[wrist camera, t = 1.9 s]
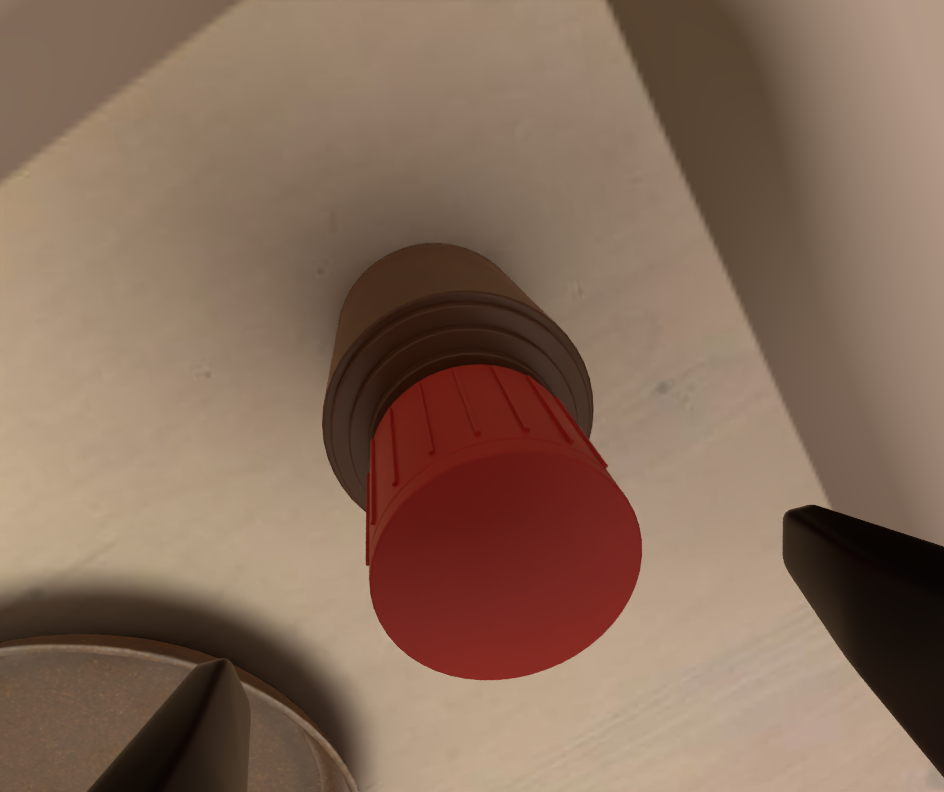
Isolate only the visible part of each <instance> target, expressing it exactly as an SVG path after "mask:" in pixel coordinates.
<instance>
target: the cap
mask: <svg viewBox="0 0 944 792" xmlns="http://www.w3.org/2000/svg"><path fill="white" fill-rule="evenodd" d="M607 467H608V465H607V464H606V463H605V461H604V460H603V458H602V457H601V456H600V454H599V453H598V452H597V450H596V449H595V448H594V446H593V445H592V443H591V442H590V441H589V439H588V438H587V437H586V435H585V434H584V433H583V431H582V430H581V428H580V427H579V426H578V424H577V423H576V422H575V420H574V419H573V418H572V416H571V415H570V413H569V412H568V411H567V409H566V408H565V407H564V405H563V404H562V403H561V401H560V400H559V398H558V397H557V396H555V397H553V395H552V394H551V393H550V392H548V391H547V390H546V389H545V388H544V387H543V386H542V385H541V384H539V383H538V382H536V381H535V380H534V379H532V378H531V376H529V375H527V376H526V375H524V374H522V373H520V372H517V371H515V370H512V369H509V368H505V367H500V366H495V365H484V364H477V365H464V366H458V367H453V368H449V369H446V370H442V371H439V372H437V373H435V374H432V375H430V376H428V377H426V378H424V379H422V380H421V381H419V382H417V383H416V384H414V385H413V386H411V387H410V388H409V389H408V390H406V391H405V392H404V393H403V394H402V395H401V396H400V397H399V398H398V399H397V400H396V401H395V402H394V403H393V404H392V405H391V407H389V408H388V410H387V412H386V413H385V415H384V417H383V418H382V420H381V422H380V424H379V425H378V428H377V430H376V433H375V435H374V439H371V442H370V473H367V501H366V566H367V565H369V581H370V594H371V599H372V603H373V607H374V610H375V612H376V615H377V617H378V619H379V622H380V623H381V625H382V627H383V628H384V630H385V631H386V633H387V634H388V636H389V637H390V638H391V639H392V640H393V642H394V643H395V644H396V645H397V646H398V647H399V648H400V649H401V650H402V651H404V652H405V653H406V654H407V655H408V656H410V657H411V658H413V659H414V660H416V661H417V662H419V663H421V664H422V665H424V666H427V667H429V668H431V669H433V670H435V671H438V672H441V673H444V674H447V675H450V676H455V677H460V678H465V679H475V680H502V679H511V678H517V677H522V676H526V675H531V674H534V673H537V672H540V671H543V670H546V669H549V668H551V667H554V666H556V665H558V664H561V663H563V662H564V661H566V660H568V659H570V658H572V657H573V656H575V655H577V654H578V653H580V652H581V651H583V650H584V649H586V648H587V647H589V646H590V645H591V644H592V643H593V642H595V641H596V640H597V639H598V638H599V637H601V636H602V635H603V634H604V633H605V632H606V630H607V629H608V628H609V627H610V626H611V625H612V624H613V623H614V622H615V620H616V619H617V618H618V616H619V615H620V614H621V612H622V611H623V609H624V608H625V606H626V604H627V602H628V601H629V599H630V597H631V595H632V592H633V590H634V588H635V585H636V582H637V579H638V575H639V572H640V566H641V558H642V539H641V534H640V528H639V524H638V521H637V518H636V515H635V512H634V510H633V508H632V507H631V505H630V503H629V501H628V499H627V498H626V496H625V495H624V493H623V492H622V491H621V489H620V488H619V486H618V485H617V484H616V482H615V481H614V480H613V478H612V477H611V475H610V474H609V473H608V471H607V470H606V468H607Z"/></svg>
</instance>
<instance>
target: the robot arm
mask: <svg viewBox="0 0 944 792" xmlns="http://www.w3.org/2000/svg"><path fill="white" fill-rule="evenodd" d="M783 560H784V563H785V566H786V568H787V570H788V572H789V574H790V575H791V577H792V578H793V580H794V581H795V583H796V584H797V586H798V587H799V589H800V590H801V592H802V593H803V595H804V596H805V598H806V599H807V601H808V602H809V604H810V605H811V607H812V608H813V610H814V611H815V613H816V614H817V616H818V617H819V619H820V620H821V621H822V623H823V624H824V626H825V627H826V629H827V630H828V632H829V633H830V635H831V636H832V638H833V639H834V641H835V642H836V644H837V645H838V647H839V648H840V650H841V651H842V652H843V654H844V655H845V657H846V658H847V660H848V661H849V662H850V663H851V665H852V666H853V667H854V669H855V670H856V671H857V672H858V674H859V675H860V676H861V677H862V679H863V680H864V681H865V682H866V683H867V685H868V686H869V687H870V688H871V690H872V691H873V692H874V693H875V694H876V696H877V697H878V698H879V699H880V700H881V702H882V703H883V704H884V705H885V707H886V708H887V709H888V710H889V711H890V713H891V714H892V715H893V716H894V717H895V719H896V720H897V721H898V722H899V724H900V725H901V726H902V727H903V728H904V730H905V731H906V732H907V733H908V735H909V736H910V737H911V738H912V739H913V741H914V742H915V743H916V744H917V745H918V747H919V748H920V749H921V750H922V752H923V753H924V754H925V755H926V756H927V758H928V759H929V760H930V761H931V763H932V764H933V765H934V766H935V767H936V769H937V770H938V771H939V772H940V773H941V775H942V776H943V777H944V547H943V546H940V545H937V544H934V543H931V542H928V541H925V540H921V539H919V538H915V537H912V536H909V535H906V534H903V533H900V532H897V531H894V530H890V529H888V528H885V527H882V526H879V525H875V524H872V523H869V522H866V521H863V520H860V519H857V518H854V517H851V516H848V515H845V514H841V513H838V512H835V511H832V510H829V509H826V508H823V507H820V506H816V505H806V506H803V507H799V508H795V509H791V510H789V511H787V512H786V513H785V515H784V517H783ZM250 724H251V709H250V703H249V699H248V697H247V695H246V692H245V690H244V688H243V686H242V684H241V682H240V679H239V677H238V675H237V673H236V671H235V669H234V666H233V665H232V663H231V662H230V661H229V660H228V659H226V658H221V659H217V660H213V661H209V662H205V663H202V664H199V665H197V666H196V667H195V668H194V669H193V670H192V671H191V672H190V673H189V674H188V675H187V677H186V678H185V679H184V680H183V681H182V682H181V683H180V685H179V686H178V687H177V688H176V689H175V690H174V692H173V693H172V694H171V695H170V696H169V697H168V698H167V700H166V701H165V702H164V703H163V704H162V705H161V706H160V708H159V709H158V710H157V711H156V712H155V713H154V715H153V716H152V717H151V718H150V719H149V720H148V721H147V723H146V724H145V725H144V726H143V727H142V728H141V730H140V731H139V732H138V733H137V734H136V735H135V736H134V738H133V739H132V740H131V741H130V742H129V743H128V745H127V746H126V747H125V748H124V749H123V750H122V751H121V753H120V754H119V755H118V756H117V757H116V758H115V759H114V761H113V762H112V763H111V764H110V765H109V766H108V768H107V769H106V770H105V771H104V772H103V773H102V774H101V776H100V777H99V778H98V779H97V780H96V781H95V783H94V784H93V785H92V786H91V787H90V788H89V789H88V791H87V792H247V786H248V766H249V745H250Z"/></svg>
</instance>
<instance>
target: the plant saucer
mask: <svg viewBox="0 0 944 792" xmlns="http://www.w3.org/2000/svg"><path fill="white" fill-rule="evenodd" d="M217 659H218V658H216V657H213V656H211V655H208V654H205V653H202V652H199V651H196V650H193V649H190V648H186V647H183V646H178V645H174V644H170V643H165V642H160V641H155V640H150V639H144V638H135V637H127V636H118V635H104V634H61V635H47V636H36V637H29V638H21V639H15V640H8V641H3V642H0V792H87V791H88V789H89V788H90V787H91V786H92V785H93V784H94V783H95V781H96V780H97V779H98V778H99V777H100V776H101V774H102V773H103V772H104V771H105V770H106V769H107V768H108V766H109V765H110V764H111V763H112V762H113V761H114V759H115V758H116V757H117V756H118V755H119V754H120V753H121V751H122V750H123V749H124V748H125V747H126V746H127V745H128V743H129V742H130V741H131V740H132V739H133V738H134V736H135V735H136V734H137V733H138V732H139V731H140V730H141V728H142V727H143V726H144V725H145V724H146V723H147V721H148V720H149V719H150V718H151V717H152V716H153V715H154V713H155V712H156V711H157V710H158V709H159V708H160V706H161V705H162V704H163V703H164V702H165V701H166V700H167V698H168V697H169V696H170V695H171V694H172V693H173V692H174V690H175V689H176V688H177V687H178V686H179V685H180V683H181V682H182V681H183V680H184V679H185V678H186V677H187V675H188V674H189V673H190V672H191V671H192V670H193V669H194V668H195V667H196V666H197V665H199V664H202V663H205V662H209V661H213V660H217ZM233 666H234V669H235V671H236V673H237V675H238V677H239V679H240V682H241V684H242V686H243V688H244V690H245V692H246V695H247V697H248V699H249V703H250V709H251V724H250V745H249V766H248V786H247V792H359V790H358V788H357V785H356V783H355V781H354V779H353V777H352V775H351V773H350V771H349V770H348V768H347V766H346V764H345V763H344V761H343V759H342V758H341V756H340V755H339V753H338V752H337V750H336V749H335V747H334V746H333V745H332V743H331V742H330V740H329V739H328V738H327V736H326V735H325V734H324V733H323V732H322V730H321V729H320V728H319V727H318V726H317V725H316V724H315V723H314V722H313V721H312V720H311V719H310V718H309V717H308V716H307V715H306V714H305V713H304V712H303V711H302V710H301V709H300V708H299V707H298V706H296V705H295V704H294V703H293V702H292V701H290V700H289V699H288V698H287V697H285V696H284V695H283V694H281V693H280V692H279V691H277V690H276V689H275V688H273V687H272V686H270V685H269V684H267V683H265V682H264V681H262V680H260V679H259V678H257V677H255V676H254V675H252V674H250V673H248V672H246V671H244V670H242V669H241V668H239V667H237V666H235V665H233Z"/></svg>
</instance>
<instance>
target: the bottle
mask: <svg viewBox="0 0 944 792" xmlns="http://www.w3.org/2000/svg"><path fill="white" fill-rule="evenodd" d="M477 364H484V365H495V366H500V367H505V368H509V369H512V370H515V371H517V372H520V373H522V374H524V375H526V376H527V375H529V376H531V378H532V379H534V380H535V381H536V382H538V383H539V384H541V385H542V386H543V387H544V388H545V389H546V390H547V391H548V392H550V393H551V394H552V395H553V397H555V396H557V397H558V398H559V400H560V401H561V403H562V404H563V405H564V407H565V408H566V409H567V411H568V412H569V413H570V415H571V416H572V418H573V419H574V420H575V422H576V423H577V424H578V426H579V427H580V428H581V430H582V431H583V433H584V434H585V435H586V437H587V438H588V439H589V438H590V433H591V429H592V421H593V393H592V388H591V383H590V378H589V375H588V372H587V369H586V367H585V364H584V362H583V360H582V358H581V356H580V354H579V352H578V350H577V348H576V347H575V346H574V344H573V343H572V341H571V340H570V339H569V337H568V336H567V335H566V334H565V333H564V332H563V331H562V329H561V328H560V327H559V326H558V325H557V324H556V323H555V322H554V321H553V320H552V319H551V318H550V317H549V316H548V315H547V314H545V313H544V312H543V311H542V310H541V309H540V308H539V307H538V306H537V305H536V304H535V303H534V302H533V301H532V300H531V299H530V298H529V297H528V296H527V295H526V294H525V293H524V292H523V291H522V290H521V289H520V288H519V287H518V286H517V285H516V284H515V283H514V282H513V281H512V280H511V279H510V278H509V277H508V276H507V275H506V274H505V273H504V272H503V271H502V270H501V269H500V268H498V267H497V266H496V265H495V264H493V263H492V262H491V261H490V260H488V259H487V258H485V257H483V256H481V255H480V254H478V253H476V252H473V251H471V250H468V249H466V248H462V247H459V246H455V245H448V244H440V243H437V244H421V245H414V246H410V247H407V248H403V249H400V250H398V251H396V252H393V253H391V254H389V255H387V256H386V257H384V258H382V259H381V260H379V261H377V262H376V263H375V264H374V265H372V266H371V267H370V268H369V269H367V270H366V272H365V273H364V274H363V275H362V276H361V277H360V278H359V279H358V280H357V282H356V283H355V285H354V286H353V287H352V289H351V290H350V292H349V294H348V296H347V298H346V300H345V302H344V305H343V308H342V311H341V313H340V318H339V323H338V328H337V334H336V339H335V345H334V350H333V356H332V361H331V367H330V372H329V378H328V383H327V389H326V394H325V400H324V405H323V418H322V428H323V440H324V445H325V449H326V453H327V457H328V460H329V462H330V465H331V467H332V470H333V472H334V474H335V476H336V477H337V479H338V481H339V482H340V484H341V486H342V487H343V489H344V490H345V491H346V492H347V494H348V495H349V496H350V497H351V499H352V500H353V501H354V502H355V503H356V504H358V505H359V506H360V507H361V508H362V509H363V510H364V511H365V512H366V501H367V473H370V442H371V439H374V435H375V433H376V430H377V428H378V425H379V424H380V422H381V420H382V418H383V417H384V415H385V413H386V412H387V410H388V408H389V407H391V405H392V404H393V403H394V402H395V401H396V400H397V399H398V398H399V397H400V396H401V395H402V394H403V393H404V392H405V391H406V390H408V389H409V388H410V387H411V386H413V385H414V384H416V383H417V382H419V381H421V380H422V379H424V378H426V377H428V376H430V375H432V374H435V373H437V372H439V371H442V370H446V369H449V368H453V367H458V366H464V365H477Z"/></svg>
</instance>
